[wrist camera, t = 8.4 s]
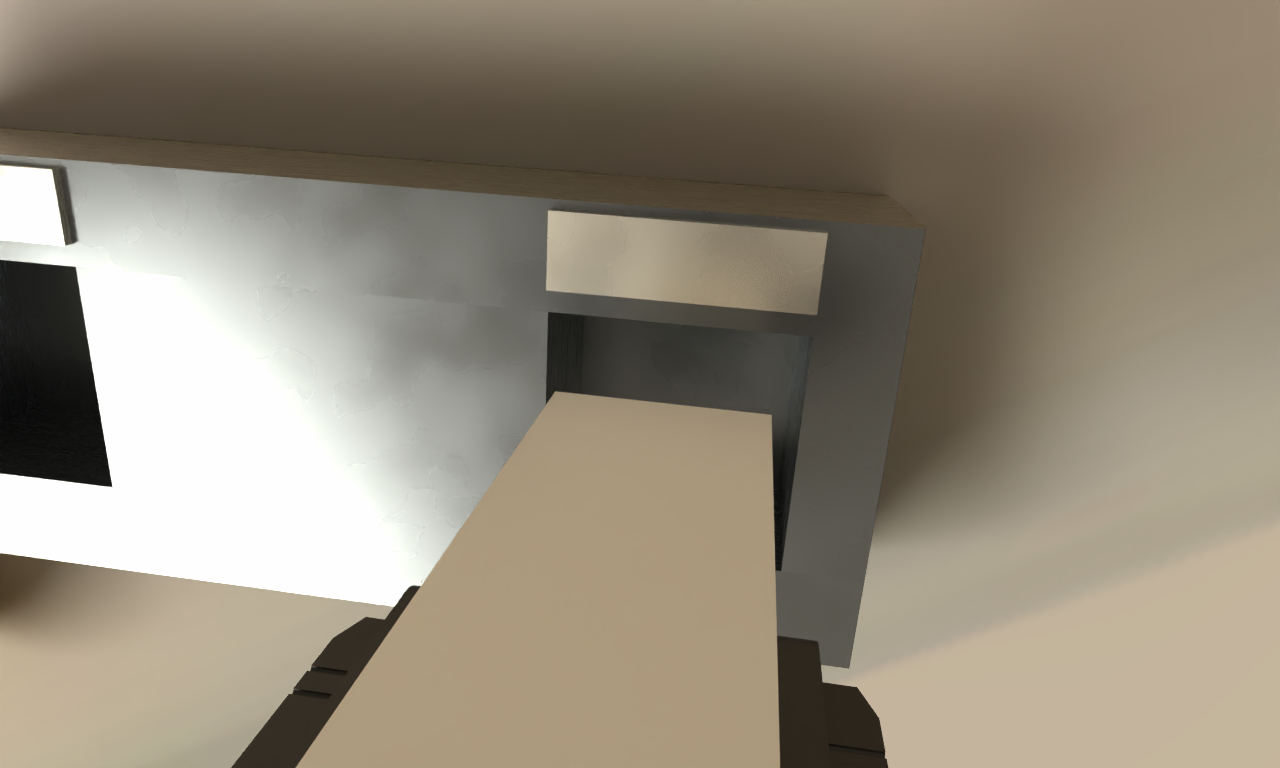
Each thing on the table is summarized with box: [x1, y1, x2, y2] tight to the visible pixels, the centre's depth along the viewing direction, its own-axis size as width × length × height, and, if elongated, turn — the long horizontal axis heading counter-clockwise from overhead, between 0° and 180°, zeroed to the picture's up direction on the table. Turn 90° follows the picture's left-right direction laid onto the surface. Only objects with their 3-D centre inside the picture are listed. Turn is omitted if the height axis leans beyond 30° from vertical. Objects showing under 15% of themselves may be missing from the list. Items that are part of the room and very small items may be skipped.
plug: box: [296, 391, 780, 768], centre depth 12 cm, size 5×4×10 cm
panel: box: [0, 128, 925, 668], centre depth 21 cm, size 10×25×5 cm, turn 86°
